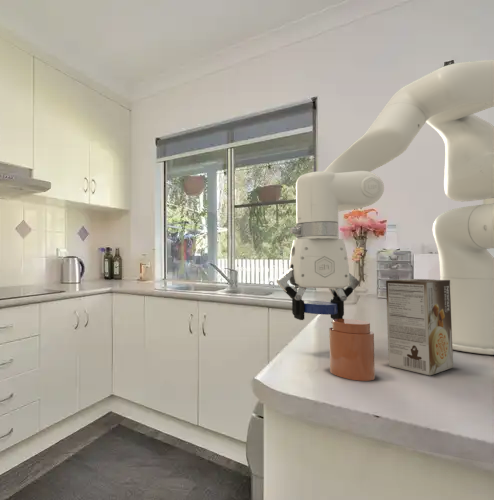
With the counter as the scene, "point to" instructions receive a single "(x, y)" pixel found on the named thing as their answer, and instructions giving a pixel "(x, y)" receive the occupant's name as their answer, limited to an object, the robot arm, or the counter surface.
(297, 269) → the robot arm
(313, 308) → the lid
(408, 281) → the coffee box
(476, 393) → the counter surface
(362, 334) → the jar
